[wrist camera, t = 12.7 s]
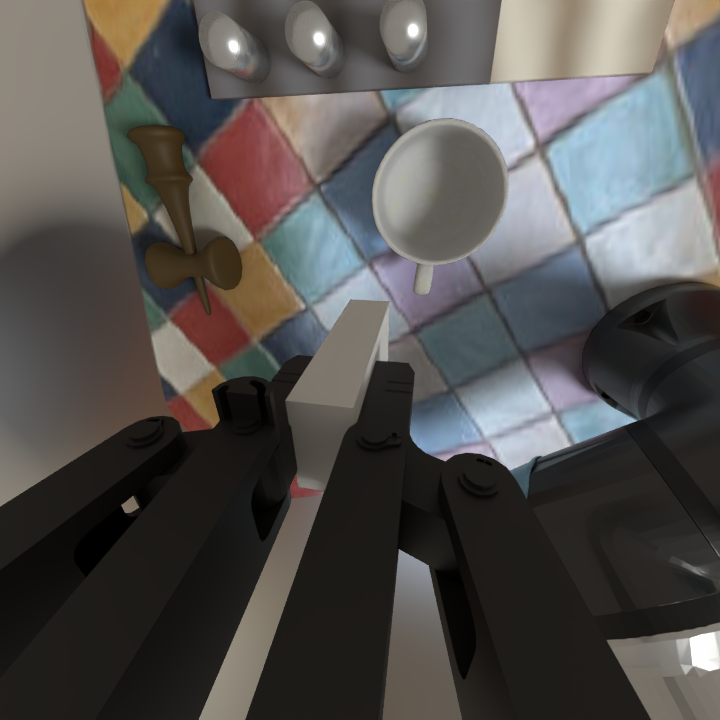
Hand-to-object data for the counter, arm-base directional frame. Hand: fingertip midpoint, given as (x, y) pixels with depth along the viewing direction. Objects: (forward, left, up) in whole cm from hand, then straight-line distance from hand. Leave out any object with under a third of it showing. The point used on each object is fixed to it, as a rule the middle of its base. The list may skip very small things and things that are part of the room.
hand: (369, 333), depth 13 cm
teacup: (-2, -2, -27) cm, 27 cm away
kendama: (+25, 0, -27) cm, 37 cm away
